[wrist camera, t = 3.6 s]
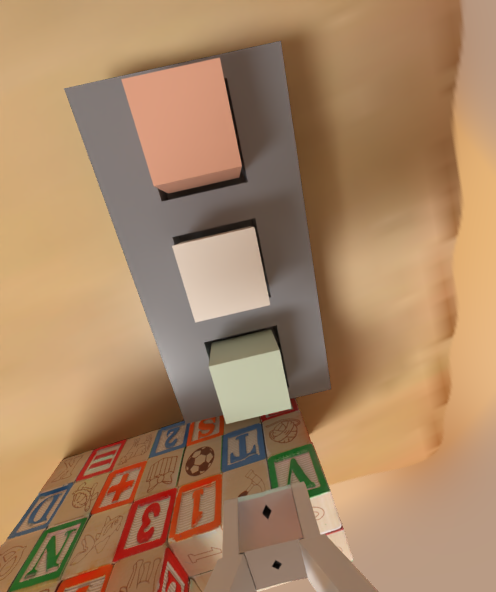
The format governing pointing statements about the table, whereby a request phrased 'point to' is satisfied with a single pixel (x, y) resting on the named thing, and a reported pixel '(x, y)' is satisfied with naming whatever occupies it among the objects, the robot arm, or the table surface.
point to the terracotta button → (185, 125)
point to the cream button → (222, 273)
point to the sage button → (249, 376)
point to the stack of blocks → (159, 506)
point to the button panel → (214, 226)
